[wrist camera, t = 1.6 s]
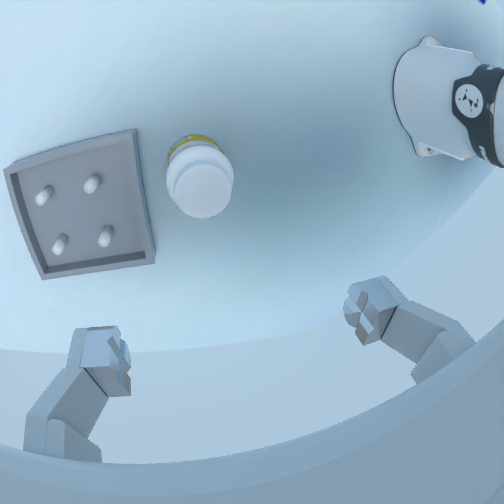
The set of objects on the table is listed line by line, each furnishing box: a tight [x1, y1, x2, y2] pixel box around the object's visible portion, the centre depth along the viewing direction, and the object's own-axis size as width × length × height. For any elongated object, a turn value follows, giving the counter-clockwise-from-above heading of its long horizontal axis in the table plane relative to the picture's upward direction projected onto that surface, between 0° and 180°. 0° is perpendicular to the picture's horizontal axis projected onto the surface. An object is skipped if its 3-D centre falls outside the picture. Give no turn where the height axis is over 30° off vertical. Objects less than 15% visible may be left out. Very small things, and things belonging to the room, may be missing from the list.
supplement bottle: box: [166, 134, 234, 219], centre depth 22 cm, size 5×5×10 cm
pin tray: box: [3, 129, 155, 280], centre depth 23 cm, size 15×14×4 cm
